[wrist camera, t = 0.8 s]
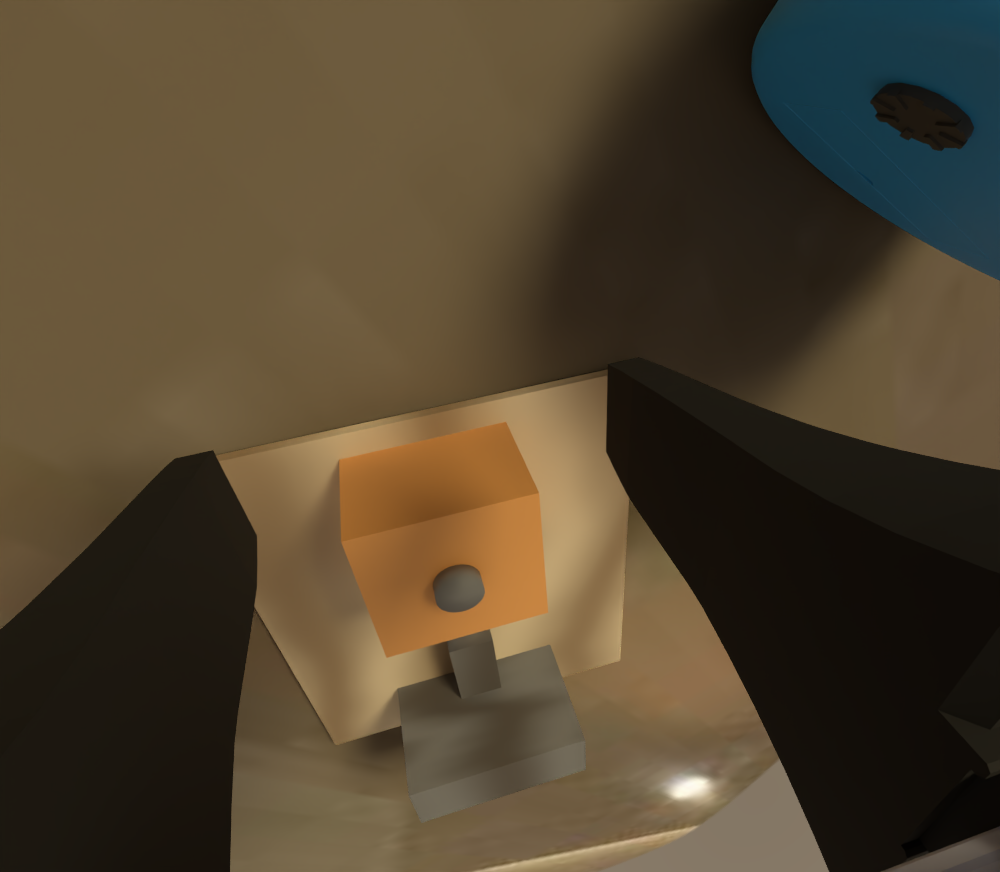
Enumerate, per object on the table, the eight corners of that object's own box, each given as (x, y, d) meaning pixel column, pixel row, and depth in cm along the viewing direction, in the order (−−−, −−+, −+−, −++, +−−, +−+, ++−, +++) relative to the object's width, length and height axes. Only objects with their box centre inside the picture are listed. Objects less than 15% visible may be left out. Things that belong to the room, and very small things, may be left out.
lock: (378, 572, 23) (387, 673, 19) (339, 459, 19) (341, 557, 16) (518, 536, 24) (553, 626, 20) (505, 421, 20) (545, 505, 16)
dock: (335, 737, 30) (337, 855, 25) (177, 463, 18) (132, 592, 14) (617, 654, 32) (661, 749, 28) (631, 364, 21) (710, 449, 16)
